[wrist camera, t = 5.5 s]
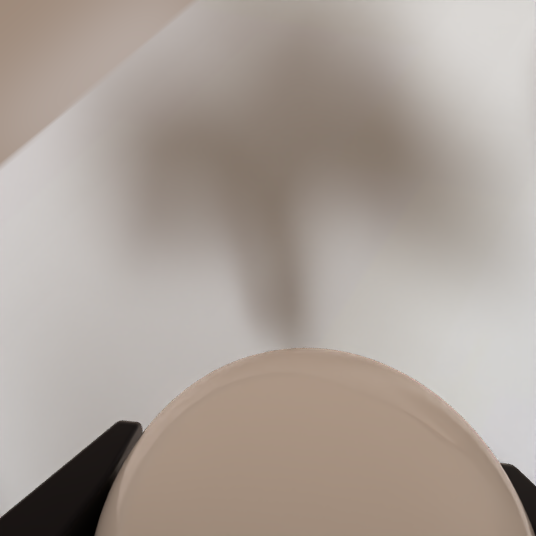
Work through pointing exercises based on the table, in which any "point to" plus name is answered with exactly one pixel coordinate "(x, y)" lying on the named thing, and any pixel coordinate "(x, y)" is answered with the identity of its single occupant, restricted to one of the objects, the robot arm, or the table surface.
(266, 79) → the table surface
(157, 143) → the table surface
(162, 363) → the table surface
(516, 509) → the lightbulb
